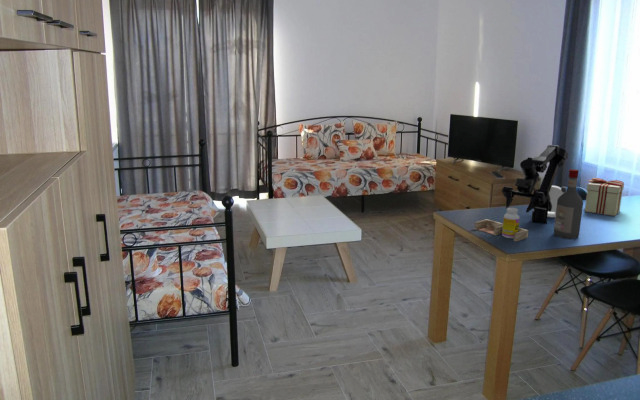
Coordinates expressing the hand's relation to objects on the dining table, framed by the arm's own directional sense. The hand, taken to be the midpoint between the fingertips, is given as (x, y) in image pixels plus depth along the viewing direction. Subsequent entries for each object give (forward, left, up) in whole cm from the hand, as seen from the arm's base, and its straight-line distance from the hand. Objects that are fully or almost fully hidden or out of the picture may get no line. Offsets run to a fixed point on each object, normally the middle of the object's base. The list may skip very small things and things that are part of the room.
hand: (516, 210), depth 239 cm
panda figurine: (-18, -42, -12) cm, 47 cm away
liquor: (-22, -6, -12) cm, 25 cm away
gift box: (-44, -59, -12) cm, 74 cm away
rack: (+6, +1, -11) cm, 13 cm away
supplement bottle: (+2, +4, -12) cm, 12 cm away
